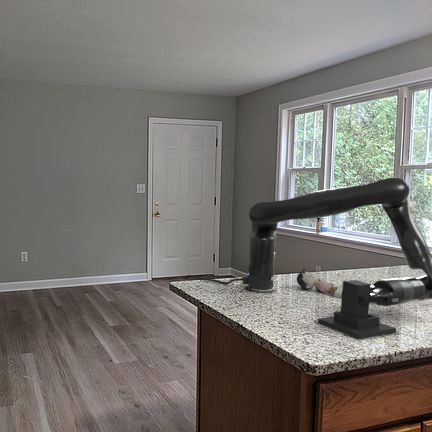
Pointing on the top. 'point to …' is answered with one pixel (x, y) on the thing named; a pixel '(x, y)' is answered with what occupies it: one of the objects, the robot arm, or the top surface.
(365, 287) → the pad block
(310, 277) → the figurine
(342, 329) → the base pad
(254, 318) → the top surface
